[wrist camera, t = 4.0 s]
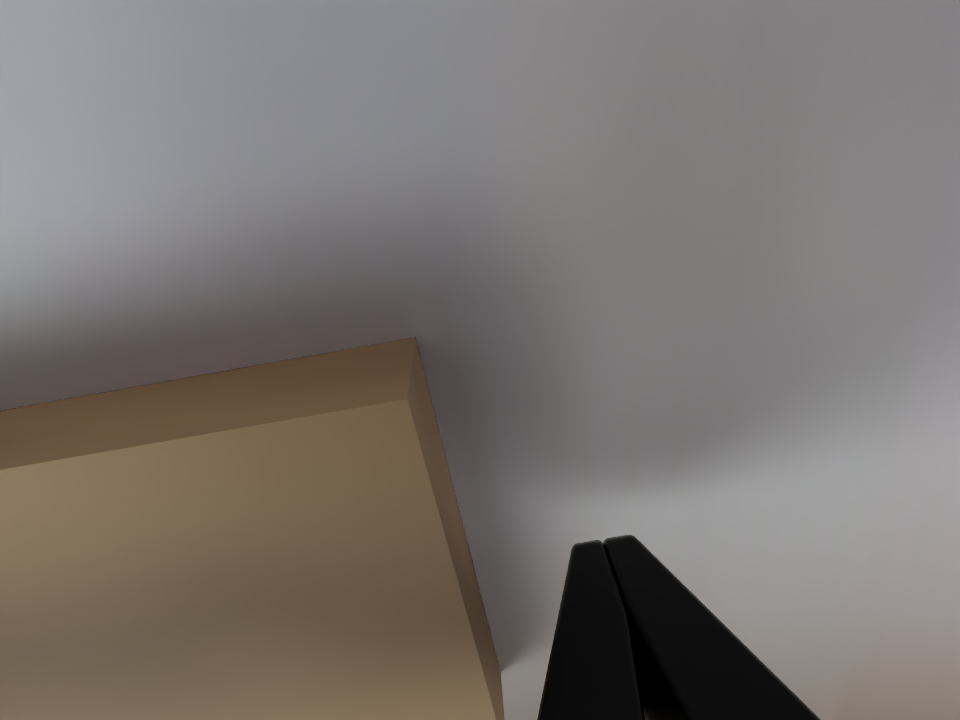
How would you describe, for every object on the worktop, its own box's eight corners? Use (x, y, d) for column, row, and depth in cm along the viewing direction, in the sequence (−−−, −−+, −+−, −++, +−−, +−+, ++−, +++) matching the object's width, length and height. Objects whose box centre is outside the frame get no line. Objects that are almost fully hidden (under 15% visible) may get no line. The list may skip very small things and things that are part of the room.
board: (498, 647, 11) (507, 759, 9) (7, 722, 12) (-74, 843, 10) (417, 321, 8) (407, 398, 6) (-264, 444, 8) (-457, 549, 7)
